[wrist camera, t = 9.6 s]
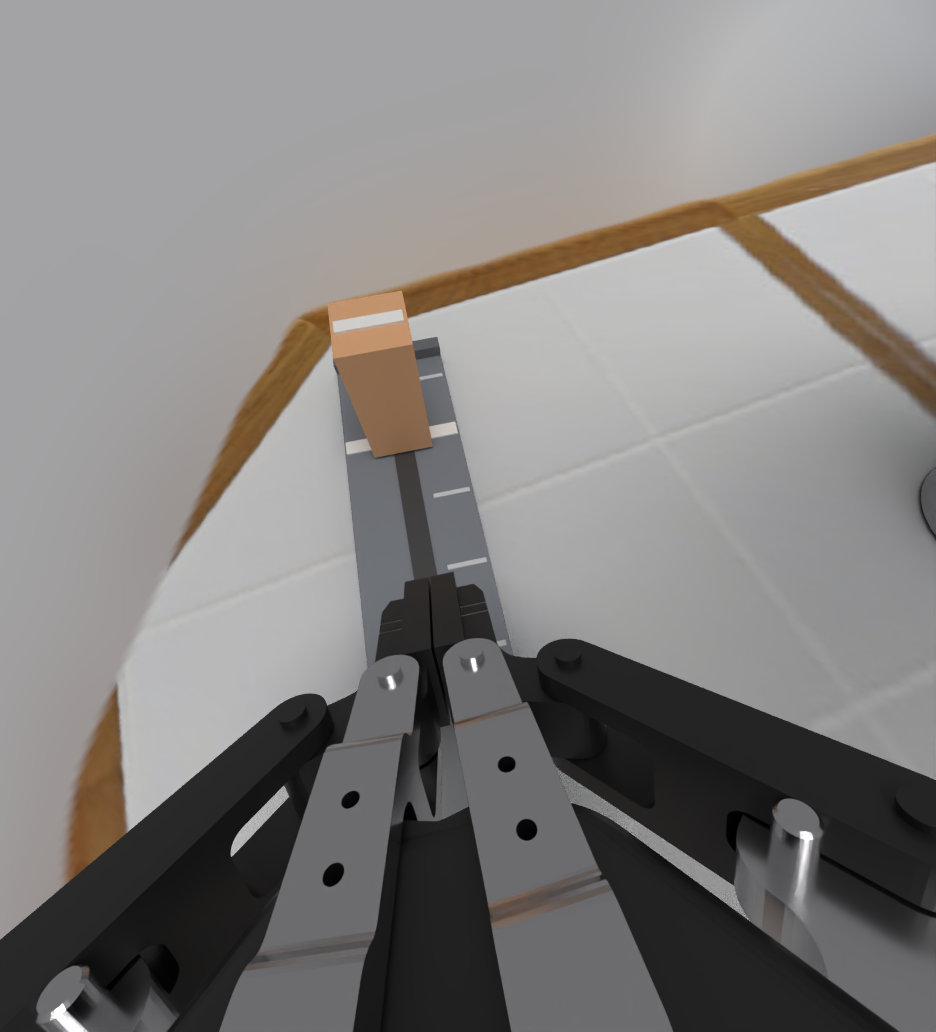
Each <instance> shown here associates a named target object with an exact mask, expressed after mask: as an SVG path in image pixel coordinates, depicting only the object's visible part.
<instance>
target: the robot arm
mask: <svg viewBox="0 0 936 1032" xmlns="http://www.w3.org/2000/svg"><path fill="white" fill-rule="evenodd" d="M921 504H922V508H923V512H924V515H925V517H926V520H927V522H928V524H929V526H930V528H931V529H932V531H933V532H934V533H935V535H936V468H935V469H933V470H932V471H931V472H930V474H929V475H928V476H927V477H926V478H925V481H924V483H923V486H922V489H921ZM430 582H431V583H430ZM379 634H380V635H379V637H378V644H377V651H376V658H375V663H374V664H372V665H371V666H370V667H369V668H368V669H367V670H366V671H365V672H364V674H363V675H362V677H361V680H360V683H359V687H358V690H357V691H356V692H355V693H353V694H351V695H349V696H347V697H345V698H343V699H341V700H339V701H337V702H335V703H332V704H330V705H328V706H327V704H326V701H325V699H324V698H323V697H321V696H320V695H317V694H302V695H298V696H295V697H293V698H290V699H288V700H286V701H284V702H283V703H281V704H280V705H278V706H277V707H276V708H275V709H273V710H272V711H271V712H270V713H269V714H267V715H266V716H265V717H264V718H263V719H261V720H260V721H259V722H258V723H257V724H256V725H254V726H253V727H252V728H251V729H250V730H248V731H247V732H246V733H245V734H244V735H243V736H241V737H240V738H239V739H238V740H237V741H235V742H234V743H233V744H232V745H231V746H229V747H228V748H227V749H226V750H225V751H224V752H222V753H221V754H220V755H219V756H218V757H216V758H215V759H214V760H213V761H212V762H211V763H209V764H208V765H207V766H206V767H205V768H203V769H202V770H201V771H200V772H199V773H197V774H196V775H195V776H194V777H193V778H192V779H190V780H189V781H188V782H187V783H186V784H184V785H183V786H182V787H181V788H180V789H179V790H177V791H176V792H175V793H174V794H173V795H171V796H170V797H169V798H168V799H167V800H165V801H164V802H163V803H162V804H161V805H160V806H158V807H157V808H156V809H155V810H154V811H152V812H151V813H150V814H149V815H148V816H147V817H145V818H144V819H143V820H142V821H141V822H139V823H138V824H137V825H136V826H135V827H133V828H132V829H131V830H130V831H129V832H128V833H126V834H125V835H124V836H123V837H122V838H120V839H119V840H118V841H117V842H116V843H115V844H113V845H112V846H111V847H110V848H109V849H107V850H106V851H105V852H104V853H103V854H101V855H100V856H99V857H98V858H97V859H96V860H94V861H93V862H92V863H91V864H90V865H88V866H87V867H86V868H85V869H84V870H83V871H81V872H80V873H79V874H78V875H77V876H75V877H74V878H73V879H72V880H71V881H69V882H68V883H67V884H66V885H65V886H64V887H62V888H61V889H60V890H59V891H58V892H56V893H55V894H54V895H53V896H52V897H51V898H49V899H48V900H47V901H46V902H45V903H43V904H42V905H41V906H40V907H39V908H37V909H36V911H34V912H33V913H32V914H30V915H29V916H28V917H27V918H26V919H24V920H23V921H22V922H21V923H20V924H19V925H17V926H16V927H15V928H14V929H13V930H11V931H10V932H9V933H8V934H7V935H6V936H4V937H3V938H2V939H1V940H0V1032H936V780H934V779H931V778H929V777H927V776H924V775H922V774H919V773H917V772H914V771H912V770H909V769H907V768H904V767H901V766H899V765H896V764H894V763H891V762H889V761H886V760H884V759H881V758H879V757H876V756H874V755H871V754H869V753H866V752H863V751H861V750H858V749H856V748H853V747H851V746H848V745H846V744H843V743H841V742H838V741H836V740H833V739H831V738H828V737H825V736H823V735H820V734H818V733H815V732H813V731H810V730H808V729H805V728H803V727H800V726H798V725H795V724H793V723H790V722H788V721H785V720H782V719H780V718H777V717H775V716H772V715H770V714H767V713H765V712H762V711H760V710H757V709H755V708H752V707H750V706H747V705H744V704H742V703H739V702H737V701H734V700H732V699H729V698H727V697H724V696H722V695H719V694H717V693H714V692H712V691H709V690H706V689H704V688H701V687H699V686H696V685H694V684H691V683H689V682H686V681H684V680H681V679H679V678H676V677H674V676H671V675H669V674H666V673H663V672H661V671H658V670H656V669H653V668H651V667H648V666H646V665H643V664H641V663H638V662H636V661H633V660H631V659H628V658H625V657H623V656H620V655H618V654H615V653H613V652H610V651H608V650H605V649H603V648H600V647H598V646H595V645H593V644H590V643H587V642H585V641H582V640H577V639H560V640H556V641H553V642H550V643H548V644H547V645H545V646H544V647H543V648H542V649H541V650H540V651H539V653H538V655H537V658H523V657H516V656H513V655H510V654H508V653H506V652H504V651H503V650H502V649H501V648H500V647H499V646H498V644H497V641H496V637H495V634H494V630H493V626H492V623H491V619H490V615H489V612H488V608H487V604H486V601H485V597H484V593H483V591H482V590H481V589H480V588H479V587H477V586H476V585H475V584H470V585H465V586H460V587H457V585H456V580H455V575H454V572H449V573H444V574H439V575H435V576H430V579H429V577H425V578H421V579H416V580H411V581H406V582H405V585H404V599H399V600H394V601H390V602H389V604H388V605H387V606H386V608H385V609H384V610H383V612H382V616H381V625H380V630H379ZM449 711H450V715H451V719H452V723H453V724H454V730H455V735H456V740H457V745H458V751H459V756H460V761H461V766H462V771H463V776H464V782H465V787H466V792H467V797H468V802H469V807H467V808H465V809H463V810H461V811H459V812H457V813H455V814H454V815H452V816H450V817H448V818H446V819H443V820H441V795H442V759H443V756H442V750H441V747H440V742H441V734H440V727H443V726H448V725H450V716H449ZM554 764H555V765H556V767H557V768H558V769H559V770H561V771H562V772H563V773H565V774H566V775H568V776H569V777H571V778H572V779H574V780H575V781H577V782H578V783H580V784H581V785H583V786H585V787H586V788H588V789H589V790H591V791H592V792H594V793H595V794H597V795H598V796H600V797H601V798H603V799H604V800H606V801H607V802H609V803H610V804H612V805H613V806H615V807H616V808H618V809H619V810H621V811H622V812H624V813H625V814H627V815H628V816H630V817H631V818H633V819H634V820H636V821H637V822H639V823H640V824H642V825H643V826H645V827H646V828H648V829H649V830H651V831H652V832H654V833H655V834H657V835H658V836H660V837H661V838H663V839H664V840H666V841H667V842H669V843H670V844H672V845H673V846H675V847H677V848H678V849H680V850H681V851H683V852H684V853H686V854H687V855H689V856H690V857H692V858H693V859H695V860H696V861H698V862H699V863H701V864H702V865H704V866H705V867H707V868H708V869H710V870H711V871H713V872H714V873H716V874H717V875H719V876H720V877H722V878H723V879H725V880H726V881H728V882H729V883H731V884H732V885H734V887H735V892H736V895H737V899H738V901H739V903H740V905H741V908H742V909H743V911H744V913H745V914H746V916H747V917H748V919H749V920H750V921H751V922H750V921H749V920H747V919H746V918H745V917H743V916H742V915H741V914H739V913H738V912H737V911H735V910H734V909H732V908H731V907H730V906H728V905H727V904H726V903H724V902H723V901H722V900H720V899H719V898H718V897H716V896H715V895H713V894H712V893H711V892H709V891H708V890H707V889H705V888H704V887H703V886H701V885H700V884H699V883H697V882H696V881H694V880H693V879H692V878H690V877H689V876H688V875H686V874H685V873H684V872H682V871H681V870H680V869H678V868H677V867H675V866H674V865H673V864H671V863H670V862H669V861H667V860H666V859H665V858H663V857H662V856H660V855H659V854H658V853H656V852H655V851H654V850H652V849H651V848H650V847H648V846H647V845H646V844H644V843H643V842H641V841H640V840H639V839H637V838H636V837H635V836H633V835H632V834H631V833H629V832H628V831H627V830H625V829H624V828H622V827H621V826H620V825H618V824H617V823H615V822H614V821H612V820H610V819H609V818H607V817H605V816H603V815H602V814H600V813H598V812H595V811H593V810H591V809H588V808H586V807H583V806H579V805H576V804H572V803H570V800H569V798H568V796H567V793H566V791H565V789H564V786H563V784H562V782H561V779H560V777H559V774H558V772H557V770H556V767H555V765H554ZM283 786H285V788H286V790H287V793H288V795H289V798H288V799H287V800H286V801H285V802H284V803H283V804H282V805H281V806H280V807H279V808H278V809H277V810H276V811H275V812H274V813H273V815H272V816H271V817H270V818H269V819H268V820H267V821H266V822H265V823H264V824H263V825H262V826H261V827H260V828H259V829H258V830H257V831H256V832H255V833H254V835H253V836H252V837H251V838H250V839H249V840H248V841H247V842H246V843H245V844H244V845H243V846H242V847H241V848H240V849H239V850H238V851H237V852H236V853H235V854H234V855H233V856H232V857H231V854H230V853H231V846H232V843H233V841H234V839H235V837H236V835H237V834H238V832H239V831H240V830H241V828H242V827H243V826H244V825H245V824H246V823H247V822H248V821H249V820H250V819H251V818H252V817H253V816H254V815H255V814H256V813H257V812H258V811H259V810H260V809H261V808H262V807H263V806H264V805H265V804H266V803H267V802H268V801H269V800H270V799H271V798H272V797H273V796H274V795H275V794H276V793H277V792H278V791H279V790H280V789H281V788H282V787H283Z"/></svg>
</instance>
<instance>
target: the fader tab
mask: <svg viewBox="0 0 936 1032" xmlns="http://www.w3.org/2000/svg"><path fill="white" fill-rule="evenodd" d="M328 312H329V322H330V332H331V342H332V352H333V359H334V362H335V364H336V367H337V369H338V371H339V374H340V376H341V378H342V381H343V383H344V386H345V388H346V390H347V393H348V395H349V397H350V400H351V402H352V405H353V407H354V409H355V412H356V414H357V416H358V419H359V421H360V424H361V426H362V428H363V431H364V433H365V435H366V438H367V440H368V443H369V445H370V447H371V450H372V452H373V454H374V457H375V458H376V457H381V456H387V455H392V454H397V453H402V452H407V451H412V450H417V449H422V448H428V447H433V445H432V439H431V434H430V429H429V424H428V419H427V414H426V409H425V404H424V398H423V393H422V388H421V383H420V378H419V373H418V368H417V363H416V358H415V352H414V347H413V342H412V337H411V333H410V328H409V323H408V318H407V313H406V309H405V304H404V299H403V294H402V291H397V292H392V293H386V294H380V295H375V296H369V297H363V298H358V299H352V300H346V301H340V302H335V303H329V304H328Z"/></svg>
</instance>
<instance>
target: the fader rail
mask: <svg viewBox="0 0 936 1032" xmlns="http://www.w3.org/2000/svg"><path fill="white" fill-rule="evenodd" d="M412 342H413V347H414V352H415V358H416V363H417V368H418V373H419V378H420V383H421V388H422V393H423V398H424V404H425V409H426V414H427V419H428V424H429V429H430V434H431V439H432V445H433V447H428V448H422V449H417V450H412V451H407V452H402V453H397V454H392V455H387V456H381V457H376V458H375V457H374V454H373V452H372V450H371V447H370V445H369V443H368V440H367V438H366V435H365V433H364V431H363V428H362V426H361V424H360V421H359V419H358V416H357V414H356V412H355V409H354V407H353V405H352V402H351V400H350V397H349V395H348V393H347V390H346V388H345V386H344V383H343V381H342V378H341V376H340V374H339V371H338V369H337V367H336V364H335V362H334V359H333V363H334V367H335V370H336V372H337V375H338V385H339V394H340V404H341V414H342V423H343V433H344V443H345V452H346V462H347V472H348V481H349V491H350V501H351V510H352V520H353V530H354V539H355V549H356V559H357V568H358V578H359V588H360V598H361V607H362V617H363V627H364V636H365V646H366V656H367V665H368V668H369V667H370V666H371V665H372V664H374V663H375V658H376V651H377V644H378V637H379V635H380V634H379V630H380V625H381V616H382V612H383V610H384V609H385V608H386V606H387V605H388V604H389V602H390V601H394V600H399V599H404V585H405V582H406V581H411V580H416V579H421V578H425V577H429V579H430V576H435V575H439V574H444V573H449V572H454V575H455V580H456V585H457V587H460V586H465V585H470V584H475V585H476V586H477V587H479V588H480V589H481V590H482V591H483V593H484V597H485V601H486V604H487V608H488V612H489V615H490V619H491V623H492V626H493V630H494V634H495V637H496V641H497V644H498V646H499V647H500V648H501V649H502V650H503V651H504V652H506V653H508V654H510V655H513V654H512V650H511V646H510V641H509V637H508V633H507V629H506V625H505V621H504V616H503V612H502V608H501V604H500V600H499V596H498V592H497V587H496V583H495V579H494V575H493V571H492V567H491V563H490V558H489V554H488V550H487V546H486V542H485V538H484V534H483V529H482V525H481V521H480V517H479V513H478V509H477V505H476V500H475V496H474V492H473V488H472V484H471V480H470V475H469V471H468V467H467V463H466V459H465V455H464V451H463V446H462V442H461V438H460V434H459V430H458V426H457V422H456V417H455V413H454V409H453V405H452V401H451V397H450V393H449V388H448V384H447V380H446V376H445V372H444V368H443V363H442V359H441V355H440V347H439V343H438V338H437V337H434V338H428V339H423V340H417V341H412ZM430 583H431V582H430ZM449 716H451V715H450V711H449Z"/></svg>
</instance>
